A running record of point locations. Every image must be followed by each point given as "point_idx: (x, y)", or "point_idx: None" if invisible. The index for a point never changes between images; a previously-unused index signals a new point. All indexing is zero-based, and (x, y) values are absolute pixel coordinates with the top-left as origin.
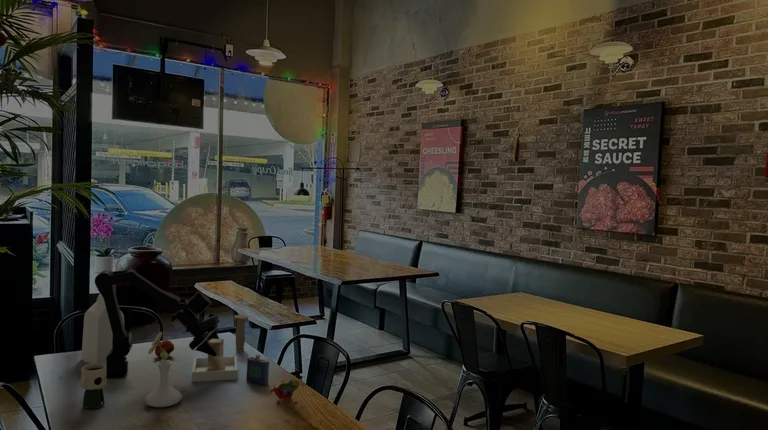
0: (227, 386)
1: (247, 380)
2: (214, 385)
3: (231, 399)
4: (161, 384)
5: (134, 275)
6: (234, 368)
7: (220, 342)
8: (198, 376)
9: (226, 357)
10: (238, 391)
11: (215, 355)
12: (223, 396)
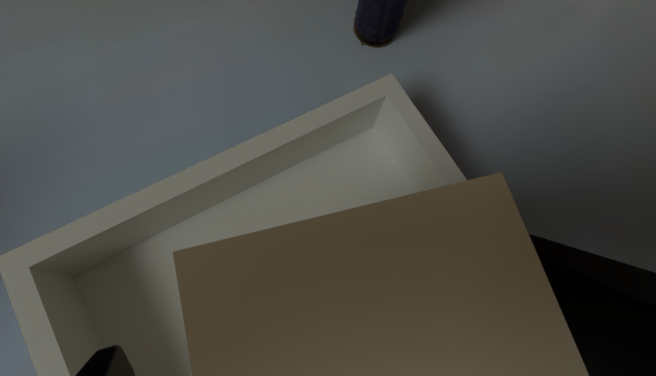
0: (507, 117)
1: (398, 26)
2: (536, 202)
3: (635, 24)
4: None
5: None
6: (237, 188)
7: (482, 182)
8: None
9: (65, 350)
10: (534, 31)
11: None
12: (632, 75)
